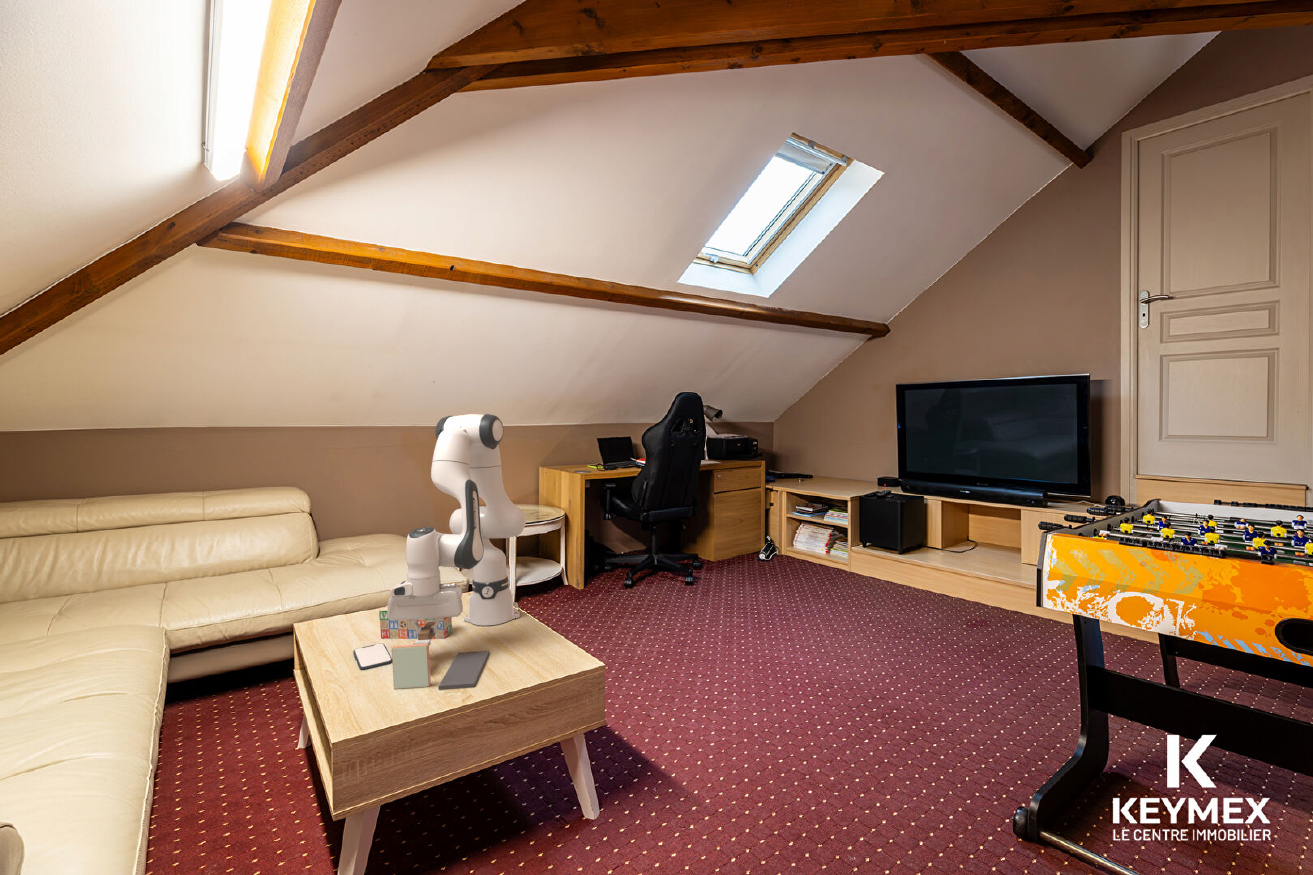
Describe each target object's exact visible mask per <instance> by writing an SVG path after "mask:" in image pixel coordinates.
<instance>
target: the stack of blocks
mask: <svg viewBox="0 0 1313 875" xmlns="http://www.w3.org/2000/svg"><path fill="white" fill-rule="evenodd" d="M387 611H388V605H385V606H384V607H383V608H381V609H380V610H379V611H378V612H379V613H378V614H379V615H378V616H379V626H380V627H379V629H380V639H392V640H393V639H394V640H395V639H397V640H398V639H404V640H409V639H414V640H415V639H416V640H418V634H416V629H415V627H414V626H413V625H412V623H411V620H395V621H391V620H390V619H389V618H388V613H387ZM452 618H453V617H444V618H441V620H440V622H439V624H438V625H437V633H436V634H435V635H434V637H433V638H432V639H431V640H445V639H446V638H447V637H449V636H450V634H452V633H453V623H452V622H453V620H452ZM432 621H434V618H428V619H419V620H418V621H417V622H418V624H419V625H420V626H423V627H424V626H425V625H426V623H427V622H432Z"/></svg>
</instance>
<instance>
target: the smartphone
mask: <svg viewBox="0 0 1313 875" xmlns="http://www.w3.org/2000/svg"><path fill="white" fill-rule="evenodd" d="M353 657H354V660H355V661H357V662H356V664H357V666H358V668H359V671H367V670H372V669H375V668H380V667H384V666H388V665H391V663H392V655H391V654H390V652H389V651H388V649H387V647H386V645H385V643H377V644H371V645H367V646H362V647H358V648H355V649H353Z"/></svg>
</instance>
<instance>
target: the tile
mask: <svg viewBox="0 0 1313 875" xmlns="http://www.w3.org/2000/svg"><path fill="white" fill-rule="evenodd" d="M391 658H392V678H393V690H401V689H403V690H404V689H414V688H430V686H431V685H432V678H431V663H430V662H431V660H430V645H429V643H428V644H413V643H412V644H400V645H392V647H391Z"/></svg>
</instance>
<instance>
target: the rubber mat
mask: <svg viewBox="0 0 1313 875" xmlns="http://www.w3.org/2000/svg"><path fill="white" fill-rule="evenodd" d="M489 656H490V650H488V649H487V650H478V651H477V650H475V651H462V652H459V651H458V652H457V654H456V655H455V657H454V659H453V661H452V662H451V664H450V666H449V668H448V669H447V671H446V673H445V675H443V677H442V680H441V681H440V683H439V685H438V691H439V690H440V691H441V690H443V691H444V690H453V689H454V690H455V689H467V688H468V689H469V688H475V687H476V684H477V682H478V680H479V678H480V676H481V674H482V671H483V669H484V667H485V665H486V663H487V660H488V658H489Z"/></svg>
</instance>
